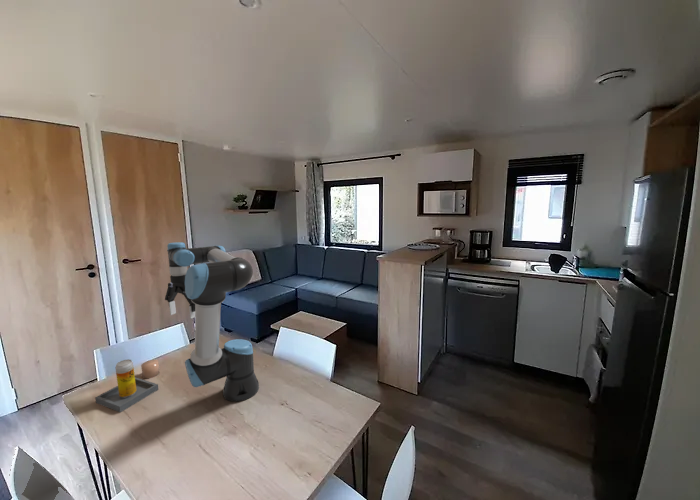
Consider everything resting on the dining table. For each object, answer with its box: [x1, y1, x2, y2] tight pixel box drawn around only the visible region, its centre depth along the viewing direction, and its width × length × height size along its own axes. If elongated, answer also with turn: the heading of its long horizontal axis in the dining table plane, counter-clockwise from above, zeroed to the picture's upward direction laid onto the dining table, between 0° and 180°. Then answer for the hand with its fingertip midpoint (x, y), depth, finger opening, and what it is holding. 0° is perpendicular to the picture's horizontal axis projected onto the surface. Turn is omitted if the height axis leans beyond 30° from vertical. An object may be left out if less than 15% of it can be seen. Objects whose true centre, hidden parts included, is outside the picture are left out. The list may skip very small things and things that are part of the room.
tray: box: [95, 376, 160, 413], centre depth 129 cm, size 16×16×3 cm
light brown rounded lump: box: [140, 359, 160, 380], centre depth 145 cm, size 7×7×6 cm
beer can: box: [115, 359, 136, 398], centre depth 128 cm, size 6×6×15 cm
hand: (182, 315), depth 145 cm, fingers open, 13 cm apart
